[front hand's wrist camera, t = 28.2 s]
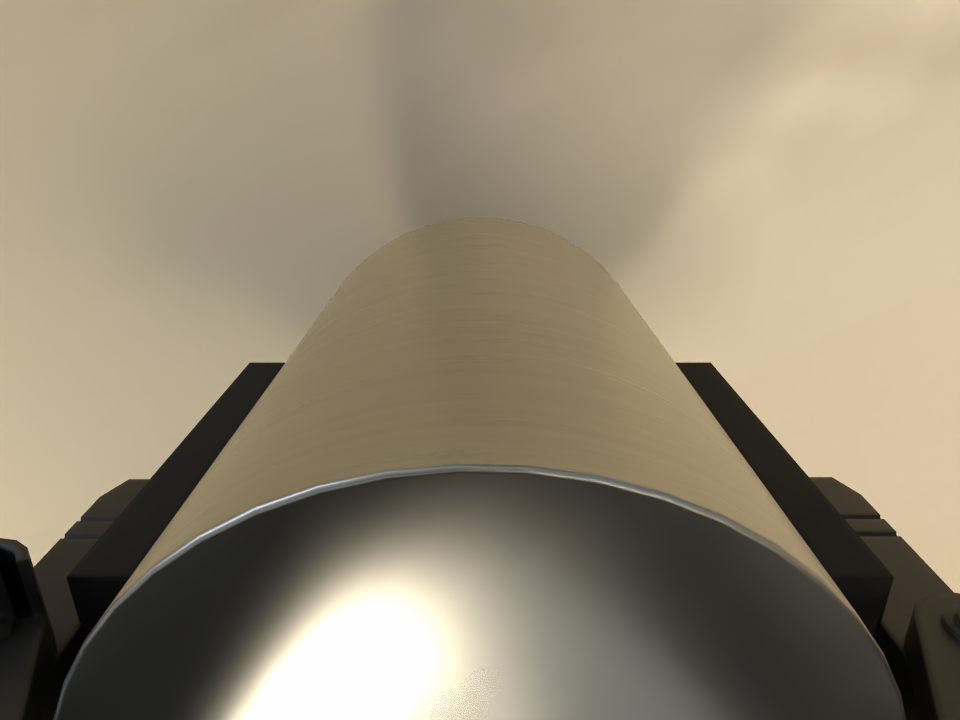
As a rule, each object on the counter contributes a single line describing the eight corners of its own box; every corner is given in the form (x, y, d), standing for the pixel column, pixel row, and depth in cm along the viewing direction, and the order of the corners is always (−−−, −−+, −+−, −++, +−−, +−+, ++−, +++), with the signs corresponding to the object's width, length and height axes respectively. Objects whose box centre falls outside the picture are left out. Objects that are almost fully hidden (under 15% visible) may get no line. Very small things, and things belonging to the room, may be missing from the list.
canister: (358, 544, 18) (212, 1085, 8) (271, 252, 15) (-125, 551, 5) (659, 500, 17) (890, 1021, 7) (631, 187, 14) (951, 384, 5)
